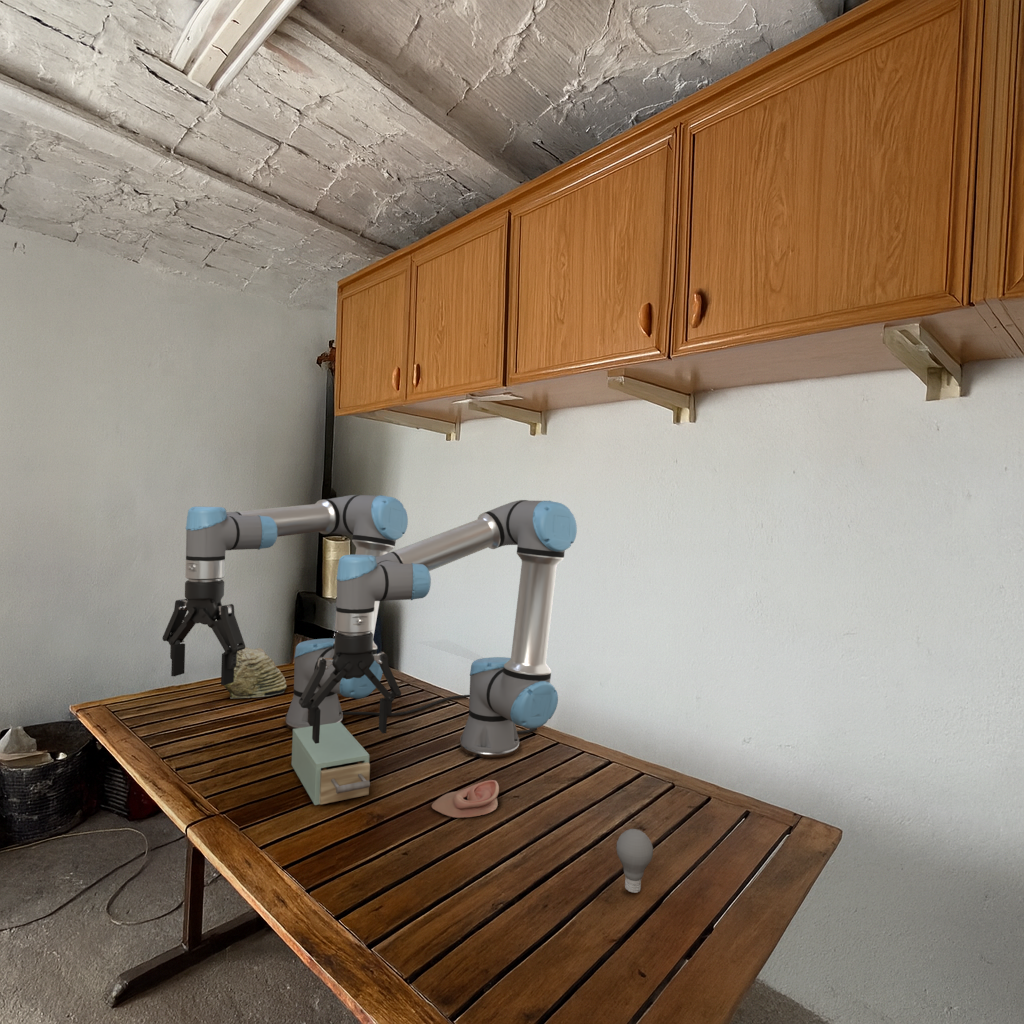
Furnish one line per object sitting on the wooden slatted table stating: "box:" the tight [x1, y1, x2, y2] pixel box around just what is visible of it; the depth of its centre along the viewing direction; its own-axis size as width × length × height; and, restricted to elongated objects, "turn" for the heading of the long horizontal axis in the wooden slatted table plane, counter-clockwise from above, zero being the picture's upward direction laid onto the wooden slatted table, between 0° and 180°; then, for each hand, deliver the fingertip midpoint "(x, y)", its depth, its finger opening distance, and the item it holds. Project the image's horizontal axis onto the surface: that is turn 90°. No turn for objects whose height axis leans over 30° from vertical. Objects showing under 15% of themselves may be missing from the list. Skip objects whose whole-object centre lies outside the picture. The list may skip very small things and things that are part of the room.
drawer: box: [319, 761, 371, 805], centre depth 137 cm, size 26×10×6 cm, turn 31°
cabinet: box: [291, 722, 370, 806], centre depth 142 cm, size 22×11×9 cm, turn 31°
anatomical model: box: [431, 779, 500, 819], centre depth 132 cm, size 13×4×12 cm
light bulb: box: [615, 828, 654, 894], centre depth 106 cm, size 6×6×10 cm
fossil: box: [223, 646, 288, 699], centre depth 198 cm, size 9×18×15 cm, turn 132°
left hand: (202, 679), depth 135 cm, fingers open, 13 cm apart
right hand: (349, 736), depth 128 cm, fingers open, 13 cm apart
